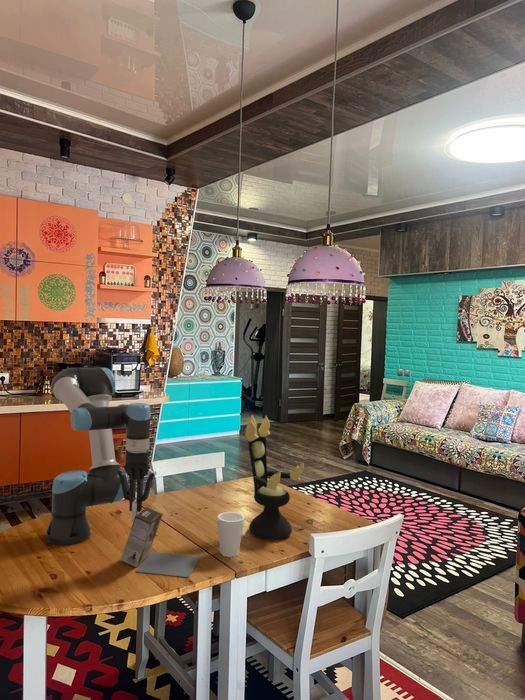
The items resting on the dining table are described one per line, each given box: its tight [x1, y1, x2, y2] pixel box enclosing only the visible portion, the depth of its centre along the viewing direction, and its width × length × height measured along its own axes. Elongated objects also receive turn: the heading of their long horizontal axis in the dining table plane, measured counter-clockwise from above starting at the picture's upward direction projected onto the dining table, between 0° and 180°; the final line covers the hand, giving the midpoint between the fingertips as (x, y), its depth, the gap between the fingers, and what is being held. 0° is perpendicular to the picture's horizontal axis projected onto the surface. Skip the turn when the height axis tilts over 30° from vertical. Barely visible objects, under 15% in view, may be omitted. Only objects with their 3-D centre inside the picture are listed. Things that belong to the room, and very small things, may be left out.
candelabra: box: [244, 414, 305, 541], centre depth 202 cm, size 19×22×45 cm
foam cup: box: [216, 511, 246, 558], centre depth 182 cm, size 10×9×13 cm
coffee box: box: [120, 506, 164, 568], centre depth 172 cm, size 9×6×16 cm
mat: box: [135, 551, 201, 578], centre depth 172 cm, size 18×15×1 cm
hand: (135, 520), depth 172 cm, fingers closed
